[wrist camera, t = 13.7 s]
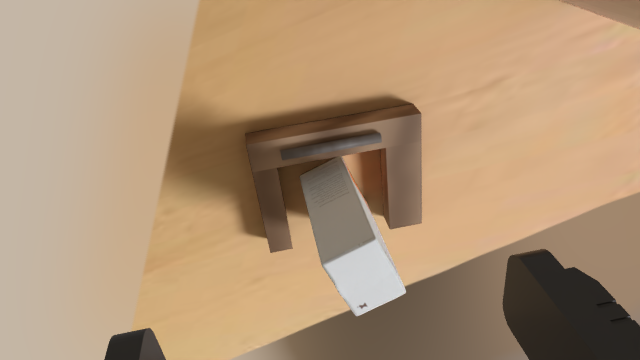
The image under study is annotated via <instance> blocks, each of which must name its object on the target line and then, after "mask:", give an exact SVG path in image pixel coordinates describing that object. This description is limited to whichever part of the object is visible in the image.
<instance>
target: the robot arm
mask: <svg viewBox="0 0 640 360" xmlns="http://www.w3.org/2000/svg"><path fill="white" fill-rule="evenodd" d="M560 1H562V2H565V3H567V4H570V5H573V6H576V7H579V8H581V9H584V10H587V11H590V12H593V13H595V14H597V15H600V16H603V17H606V18H609V19H612V20H615V21H617V22H620V23H623V24H626V25H629V26H632V27H635V28H637V29H640V0H560ZM503 311H504V315H505V319H506V321H507V324H508V326H509V328H510V330H511V331H512V333H513V335H514V336H515V338H516V339H517V341H518V342H519V344H520V346H521V347H522V349H523V350H524V352H525V354H526V355H527V357H528V358H529V360H640V326H639V325H638V324H637V323H636V321H635V320H631V318H630V315H629V314H628V313H627V312H626V311H625V310H624V309H623V308H622V306H621V305H619V304H617V303H616V300H615V299H614V298H613V297H612V296H611V295H610V294H609V293H608V291H607V290H606V289H605V288H604V287H603V286H602V285H601V284H600V283H599V282H598V281H597V280H595V279H593V278H591V277H590V276H588V275H586V274H585V273H583V272H582V271H580V270H578V269H577V268H575V267H572V268H568V269H564V268H563V266H562V265H561V264H560V263H559V262H558V261H557V260H556V259H555V258H554V256H553V255H552V254H551V253H550V252H549V251H548V250H546V249H540V250H536V251H531V252H526V253H521V254H516V255H512V256H510V257H509V259H508V263H507V272H506V280H505V288H504V296H503ZM105 360H166V359H165V357H164V354H163V352H162V350H161V348H160V346H159V343H158V341H157V339H156V337H155V334H154V332H153V331H152V330H151V329H150V328H147V329H142V330H137V331H132V332H127V333H123V334H118V335H114V336H112V338H111V339H110V341H109V345H108V348H107V352H106V356H105Z"/></svg>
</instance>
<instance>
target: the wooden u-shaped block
mask: <svg viewBox="0 0 640 360" xmlns="http://www.w3.org/2000/svg"><path fill="white" fill-rule="evenodd" d="M245 136H246V147H247V151H248V156H249V160H250V165H251V169H252V173H253V178H254V182H255V187H256V191H257V195H258V200H259V204H260V209H261V213H262V217H263V222H264V226H265V231H266V235H267V239H268V244H269V248H270V253H272V252H277V251H282V250H287V249H293V248H292V242H291V237H290V231H289V226H288V221H287V216H286V211H285V205H284V200H283V195H282V190H281V185H280V179H279V174H278V169H277V168H279V167H284V166H290V165H295V164H300V163H306V162H311V161H317V160H322V159H328V158H333V157H339V156H344V155H349V154H355V153H360V152H366V151H371V150H377V149H380V156H381V173H382V191H383V208H384V218H385V220H386V222H387V224H388V226H389V228H390V229H394V228H400V227H405V226H410V225H415V224H420V223H422V170H421V113H420V111H419V110H418V109H417V108H416V107H415V106H414V104H410V105H404V106H398V107H393V108H387V109H382V110H376V111H370V112H365V113H359V114H353V115H348V116H342V117H336V118H331V119H325V120H320V121H314V122H308V123H303V124H297V125H291V126H286V127H280V128H274V129H269V130H263V131H258V132H252V133H246V134H245Z"/></svg>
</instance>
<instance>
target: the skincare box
mask: <svg viewBox="0 0 640 360" xmlns="http://www.w3.org/2000/svg"><path fill="white" fill-rule="evenodd" d="M300 181H301V185H302V189H303V193H304V197H305V201H306V205H307V209H308V213H309V217H310V221H311V225H312V229H313V233H314V237H315V241H316V245H317V249H318V253H319V257H320V260H321V264H322V267H323V268H324V270H325V271H326V273H327V274H328V275H329V277H330V279H331V280H332V282H333V283H334V285H335V286H336V288H337V290H338V292H339V293H340V295H341V296H342V297H343V299H344V300H345V301H346V303H347V304H348V306H349V307H350V309H351V310H352V311H353V313H354V314H355V315H356V316H359V315H361V314H363V313H365V312H367V311H369V310H372V309H374V308H376V307H378V306H380V305H382V304H384V303H386V302H389V301H391V300H393V299H395V298H397V297H399V296H401V295H403V294H405V293H406V290H405V287H404V285H403V283H402V281H401V278H400V276H399V274H398V272H397V269H396V267H395V265H394V263H393V260H392V258H391V256H390V254H389V251H388V249H387V247H386V245H385V242H384V240H383V238H382V236H381V233H380V231H379V229H378V227H377V224H376V222H375V220H374V218H373V215H372V213H371V211H370V208H369V206H368V204H367V202H366V200H365V199H364V197H363V195H362V193H361V192H360V190H359V188H358V186H357V184H356V183H355V181H354V179H353V177H352V175H351V173H350V172H349V170H348V168H347V166H346V164H345V162H344V160H343V158H342V156H339V157H335V158H333V159H332V160H330V161H328V162H326V163H324V164H322V165H320V166H318V167H316V168H314V169H312V170H310V171H308V172H306V173H304V174H302V175H301V176H300Z"/></svg>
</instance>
